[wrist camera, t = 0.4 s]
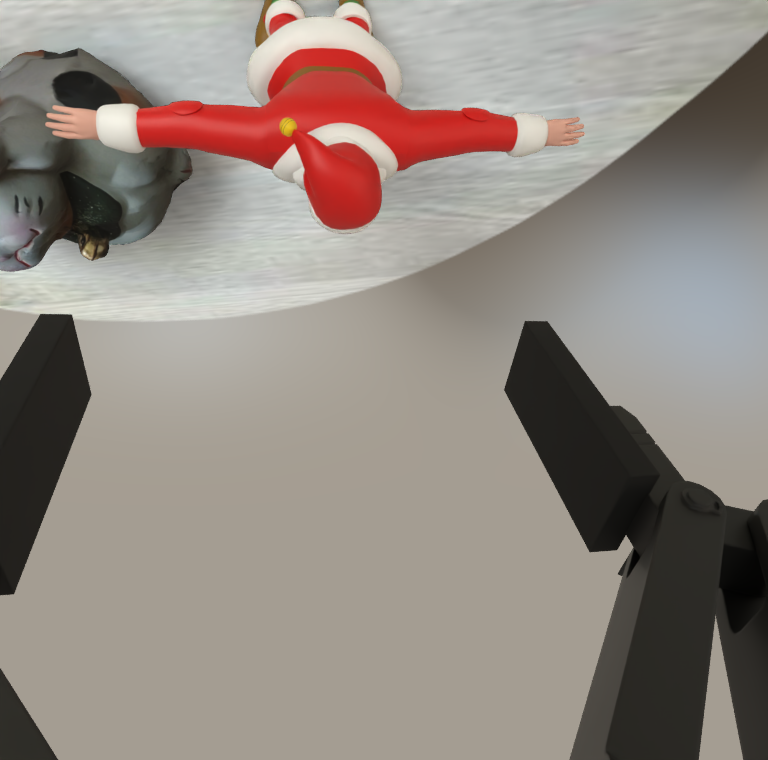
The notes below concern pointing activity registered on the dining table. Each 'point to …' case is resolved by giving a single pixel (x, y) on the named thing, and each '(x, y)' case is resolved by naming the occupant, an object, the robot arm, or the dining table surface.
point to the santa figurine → (320, 117)
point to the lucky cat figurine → (73, 163)
